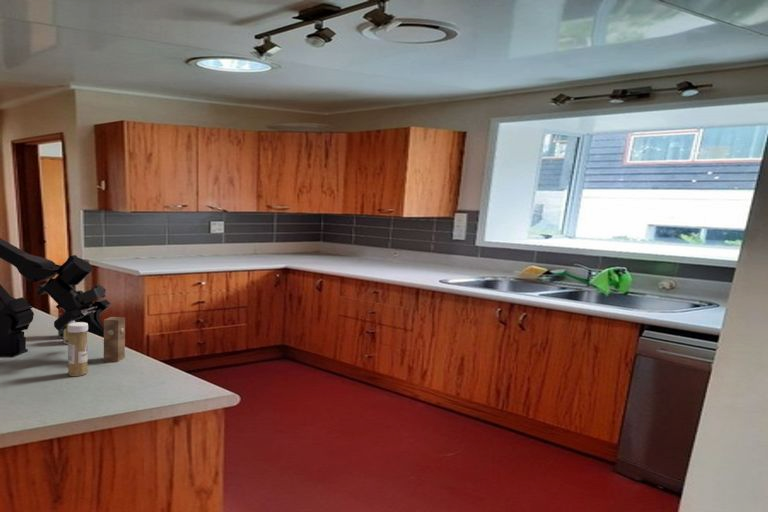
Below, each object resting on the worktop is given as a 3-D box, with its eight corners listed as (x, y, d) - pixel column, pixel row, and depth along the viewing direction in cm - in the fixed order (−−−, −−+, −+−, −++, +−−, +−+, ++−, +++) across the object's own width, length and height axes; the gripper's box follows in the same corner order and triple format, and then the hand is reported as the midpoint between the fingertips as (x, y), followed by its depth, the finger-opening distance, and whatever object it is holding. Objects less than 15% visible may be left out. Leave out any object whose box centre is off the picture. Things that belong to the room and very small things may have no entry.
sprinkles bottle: (88, 375, 130) (88, 324, 129) (67, 377, 127) (67, 326, 126) (87, 370, 134) (87, 321, 132) (67, 372, 131) (67, 322, 130)
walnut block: (103, 361, 141) (103, 320, 140) (110, 357, 145) (111, 316, 144) (118, 362, 141) (118, 320, 140) (125, 357, 146) (125, 317, 144)
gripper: (64, 281, 132) (106, 324, 133) (103, 272, 151) (140, 310, 152) (35, 309, 133) (77, 351, 134) (77, 297, 151) (114, 334, 152)
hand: (104, 335), depth 143 cm, fingers closed
